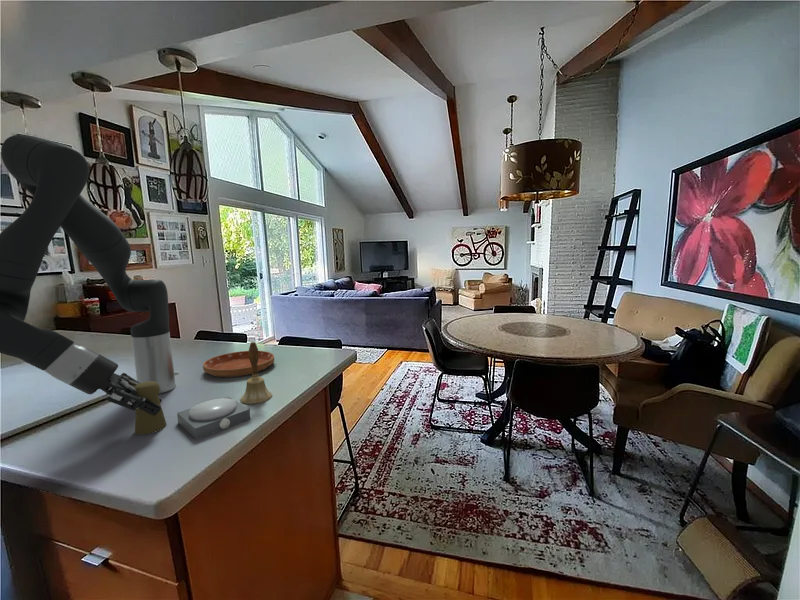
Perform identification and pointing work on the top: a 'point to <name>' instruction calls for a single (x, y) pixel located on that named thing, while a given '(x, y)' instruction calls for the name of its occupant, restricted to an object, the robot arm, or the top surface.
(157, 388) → the cork
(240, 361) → the saucer
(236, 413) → the scale
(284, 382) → the top surface
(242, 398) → the hand bell
